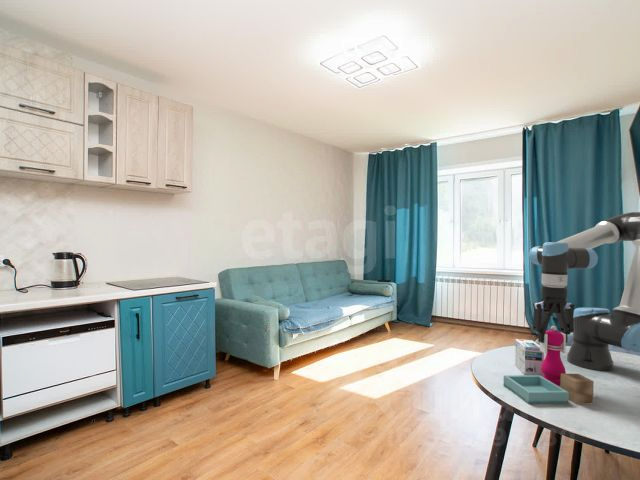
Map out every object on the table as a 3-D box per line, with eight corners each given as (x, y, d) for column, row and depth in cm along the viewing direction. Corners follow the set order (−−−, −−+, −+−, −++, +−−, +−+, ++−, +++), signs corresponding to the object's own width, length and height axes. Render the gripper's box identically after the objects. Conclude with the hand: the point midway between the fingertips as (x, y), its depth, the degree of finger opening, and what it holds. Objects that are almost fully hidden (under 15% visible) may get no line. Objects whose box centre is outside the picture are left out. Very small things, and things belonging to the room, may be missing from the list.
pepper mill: (538, 382, 122) (538, 325, 121) (543, 376, 126) (544, 322, 126) (562, 389, 116) (563, 329, 116) (567, 382, 121) (568, 326, 121)
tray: (539, 385, 120) (539, 375, 120) (568, 403, 107) (568, 392, 107) (503, 385, 120) (503, 375, 119) (528, 403, 107) (528, 392, 107)
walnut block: (577, 394, 114) (578, 373, 114) (592, 403, 108) (593, 381, 108) (560, 394, 113) (560, 373, 113) (574, 403, 107) (575, 381, 107)
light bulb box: (544, 377, 128) (545, 348, 128) (524, 375, 129) (525, 346, 129) (532, 366, 138) (533, 339, 138) (514, 365, 140) (514, 338, 139)
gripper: (535, 287, 117) (533, 355, 117) (588, 287, 118) (586, 355, 118) (521, 284, 124) (519, 348, 125) (571, 284, 125) (569, 348, 126)
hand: (552, 351), depth 122 cm, fingers closed on pepper mill, 6 cm apart
